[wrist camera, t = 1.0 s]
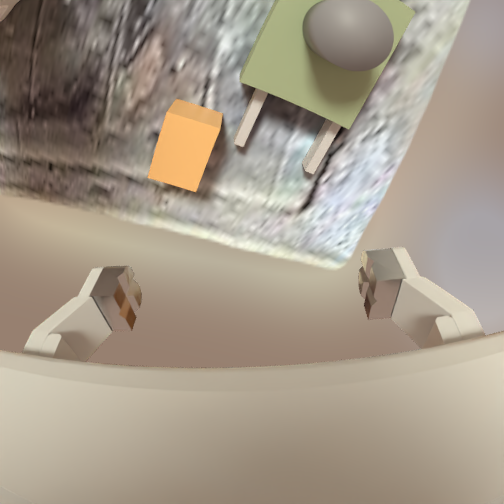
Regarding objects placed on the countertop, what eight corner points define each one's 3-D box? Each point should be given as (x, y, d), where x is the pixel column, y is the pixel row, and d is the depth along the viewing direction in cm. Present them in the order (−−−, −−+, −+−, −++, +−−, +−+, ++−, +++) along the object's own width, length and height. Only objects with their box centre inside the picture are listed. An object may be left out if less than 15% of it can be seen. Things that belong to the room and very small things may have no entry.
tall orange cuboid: (158, 156, 34) (147, 177, 30) (176, 98, 29) (166, 111, 26) (200, 169, 35) (195, 192, 31) (222, 113, 31) (220, 128, 27)
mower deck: (216, 130, 32) (209, 168, 25) (298, -43, 20) (320, -64, 13) (309, 166, 35) (328, 210, 28) (396, 10, 23) (444, 15, 16)
